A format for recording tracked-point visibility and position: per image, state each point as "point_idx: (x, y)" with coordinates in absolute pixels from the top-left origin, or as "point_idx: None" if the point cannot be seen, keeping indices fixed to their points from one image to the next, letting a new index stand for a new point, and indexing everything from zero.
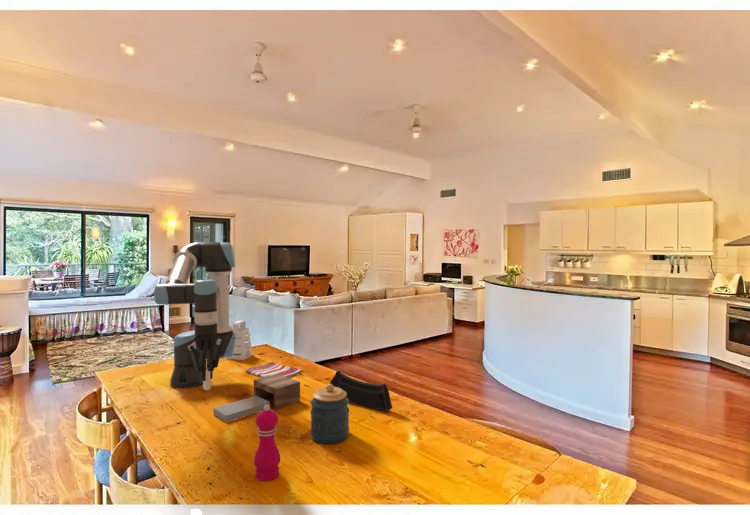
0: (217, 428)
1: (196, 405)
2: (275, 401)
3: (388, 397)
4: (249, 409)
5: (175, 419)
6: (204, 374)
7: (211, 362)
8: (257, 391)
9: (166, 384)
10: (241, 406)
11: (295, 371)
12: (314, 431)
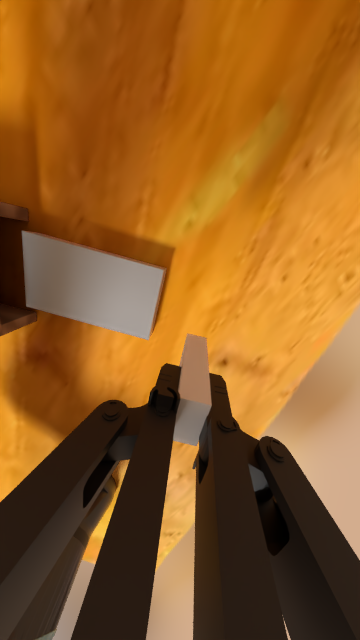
0: (203, 258)
1: (142, 398)
2: (5, 209)
3: None
4: (92, 250)
5: None
6: (214, 402)
7: (147, 475)
8: (11, 317)
9: (115, 499)
10: (97, 283)
11: None
12: None
